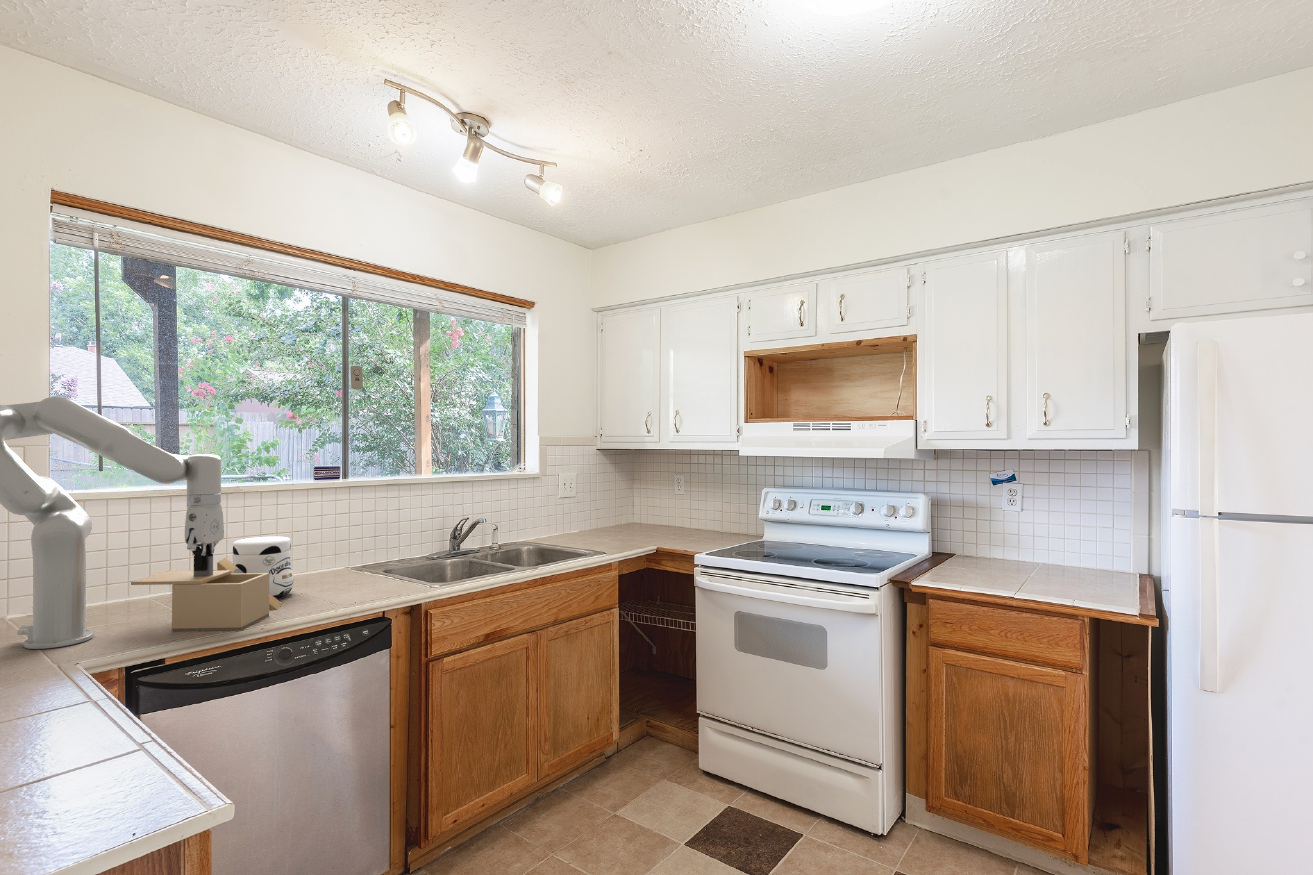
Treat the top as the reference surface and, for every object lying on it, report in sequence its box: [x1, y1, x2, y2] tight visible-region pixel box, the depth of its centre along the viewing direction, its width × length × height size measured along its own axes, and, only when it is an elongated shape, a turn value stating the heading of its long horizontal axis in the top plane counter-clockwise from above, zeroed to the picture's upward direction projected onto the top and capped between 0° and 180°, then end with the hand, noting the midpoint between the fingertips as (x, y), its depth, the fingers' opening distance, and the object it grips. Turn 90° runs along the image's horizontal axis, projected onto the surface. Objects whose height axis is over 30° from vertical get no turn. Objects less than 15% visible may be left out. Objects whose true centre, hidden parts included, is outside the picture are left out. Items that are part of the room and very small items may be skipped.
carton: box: [171, 573, 270, 633], centre depth 175 cm, size 17×14×12 cm
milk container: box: [232, 536, 295, 599], centre depth 205 cm, size 17×17×18 cm
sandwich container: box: [216, 557, 283, 611], centre depth 191 cm, size 9×15×15 cm, turn 111°
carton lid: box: [130, 555, 232, 586], centre depth 175 cm, size 17×14×6 cm
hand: (203, 569), depth 175 cm, fingers closed on carton lid
